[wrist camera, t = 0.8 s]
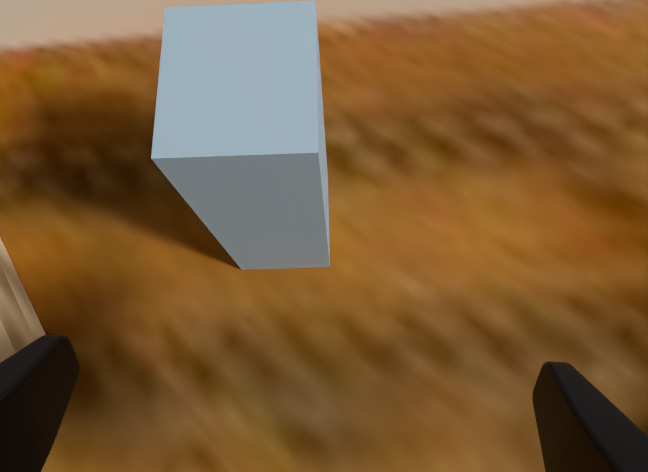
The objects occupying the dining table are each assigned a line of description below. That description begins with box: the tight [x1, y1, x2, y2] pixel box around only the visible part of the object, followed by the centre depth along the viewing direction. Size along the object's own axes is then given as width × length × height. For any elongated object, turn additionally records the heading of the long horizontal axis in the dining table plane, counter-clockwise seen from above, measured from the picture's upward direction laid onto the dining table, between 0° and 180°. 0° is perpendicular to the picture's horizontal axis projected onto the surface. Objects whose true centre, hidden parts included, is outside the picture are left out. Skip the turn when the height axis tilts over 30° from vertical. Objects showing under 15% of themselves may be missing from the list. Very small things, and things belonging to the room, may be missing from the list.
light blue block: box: [151, 1, 330, 270], centre depth 20 cm, size 5×4×12 cm
